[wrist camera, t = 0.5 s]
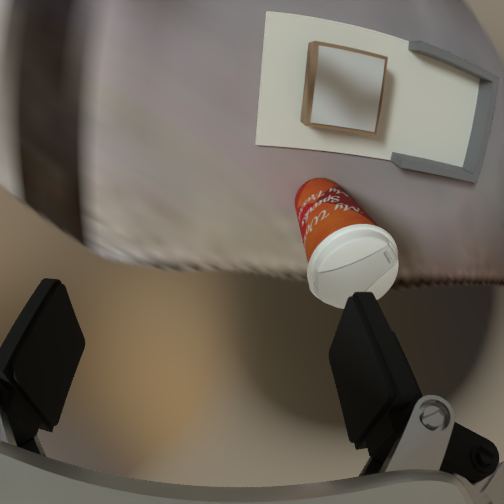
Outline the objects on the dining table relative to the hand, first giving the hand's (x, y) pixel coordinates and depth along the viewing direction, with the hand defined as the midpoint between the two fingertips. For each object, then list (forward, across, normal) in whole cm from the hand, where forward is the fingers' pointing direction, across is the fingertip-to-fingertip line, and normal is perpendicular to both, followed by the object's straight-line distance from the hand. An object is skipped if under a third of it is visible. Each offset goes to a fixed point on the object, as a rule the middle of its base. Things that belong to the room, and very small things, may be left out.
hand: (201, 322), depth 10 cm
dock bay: (+25, -16, -7) cm, 30 cm away
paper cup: (+25, -11, +6) cm, 28 cm away
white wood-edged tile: (+24, -10, -7) cm, 27 cm away
